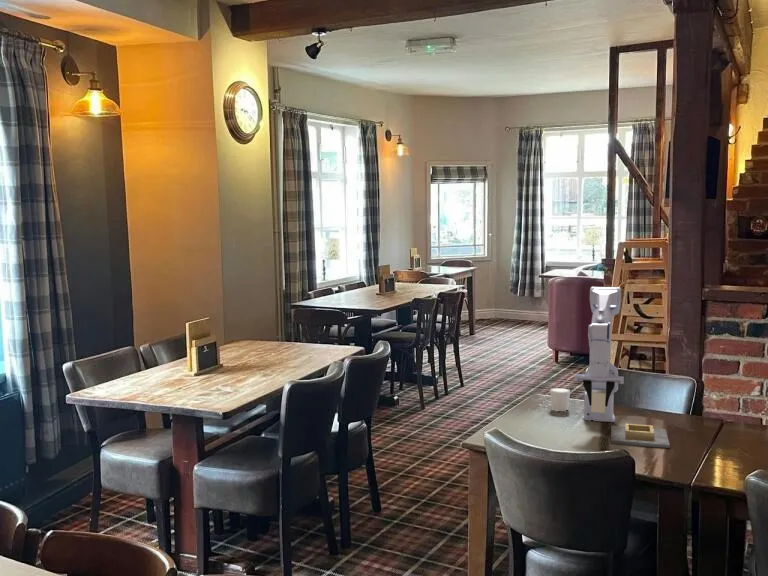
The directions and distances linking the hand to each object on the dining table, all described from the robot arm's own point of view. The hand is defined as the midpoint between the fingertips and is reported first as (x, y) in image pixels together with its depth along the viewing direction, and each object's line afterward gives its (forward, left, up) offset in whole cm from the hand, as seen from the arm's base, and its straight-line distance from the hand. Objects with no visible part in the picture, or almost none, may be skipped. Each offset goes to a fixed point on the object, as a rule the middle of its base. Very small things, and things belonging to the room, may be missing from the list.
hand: (598, 405), depth 223 cm
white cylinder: (-13, +24, -9) cm, 28 cm away
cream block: (0, 0, -2) cm, 2 cm away
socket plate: (+12, -3, -8) cm, 15 cm away
